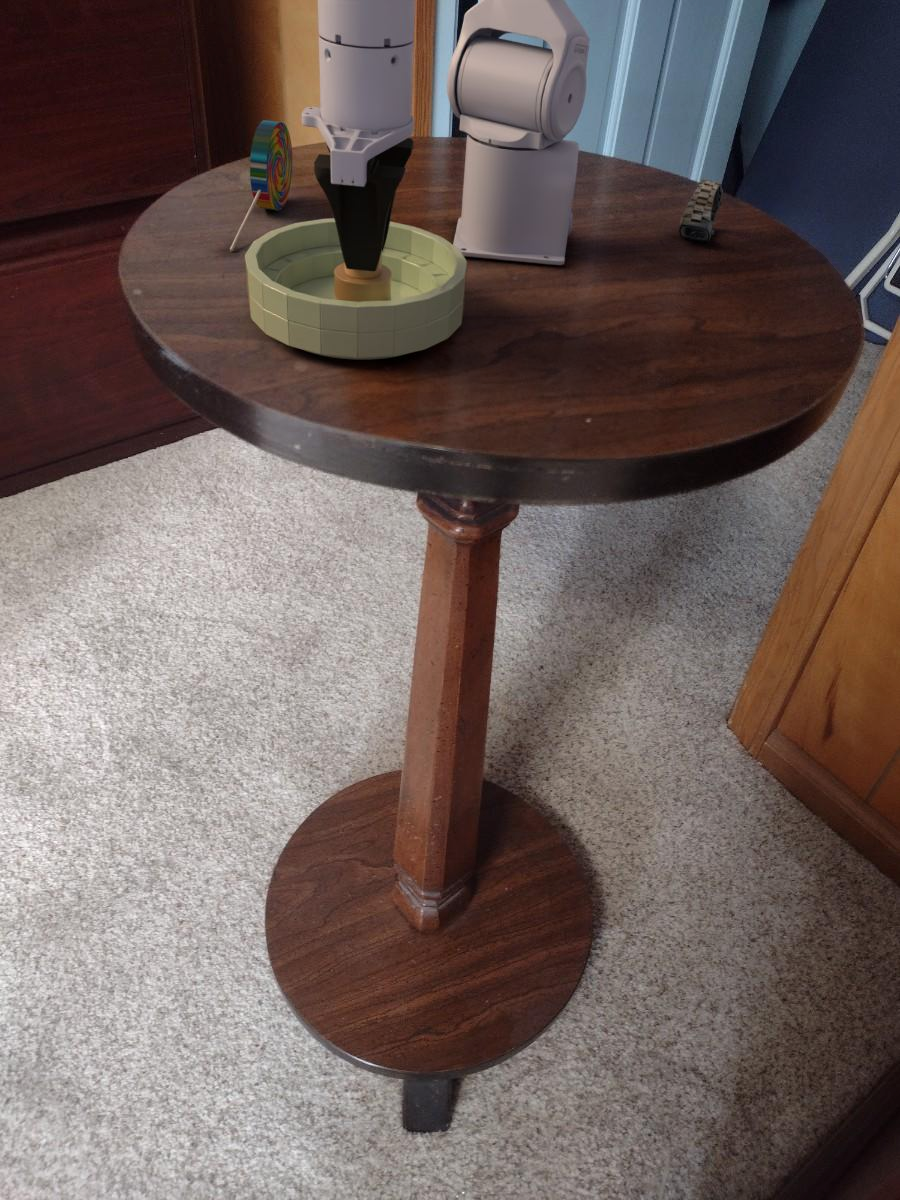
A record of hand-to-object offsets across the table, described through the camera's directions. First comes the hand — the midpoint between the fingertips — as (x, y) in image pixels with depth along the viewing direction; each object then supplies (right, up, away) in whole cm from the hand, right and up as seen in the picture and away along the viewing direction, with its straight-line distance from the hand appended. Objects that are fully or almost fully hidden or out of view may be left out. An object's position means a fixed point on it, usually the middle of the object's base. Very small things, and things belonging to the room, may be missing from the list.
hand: (365, 259), depth 67 cm
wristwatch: (+29, +9, +22) cm, 37 cm away
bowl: (-1, -3, +5) cm, 5 cm away
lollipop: (-11, +9, +18) cm, 23 cm away
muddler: (0, -3, +3) cm, 4 cm away
